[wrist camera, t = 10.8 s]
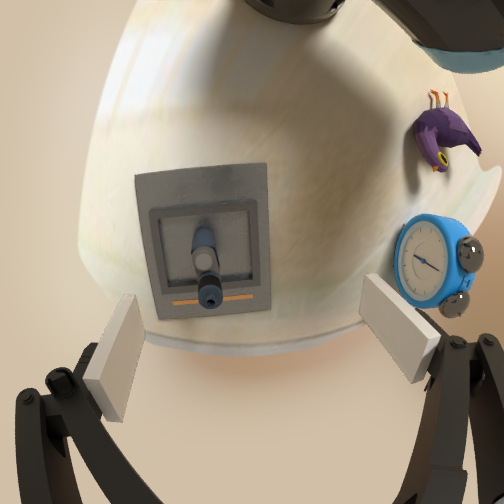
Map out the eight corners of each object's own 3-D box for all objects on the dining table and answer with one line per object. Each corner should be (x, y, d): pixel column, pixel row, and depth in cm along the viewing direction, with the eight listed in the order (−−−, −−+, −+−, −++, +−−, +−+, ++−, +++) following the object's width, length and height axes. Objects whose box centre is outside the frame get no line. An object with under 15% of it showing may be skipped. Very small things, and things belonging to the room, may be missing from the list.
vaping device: (200, 268, 37) (200, 317, 26) (191, 229, 35) (185, 265, 24) (220, 263, 37) (227, 312, 26) (211, 224, 35) (215, 259, 24)
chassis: (136, 174, 33) (132, 175, 31) (265, 162, 35) (268, 163, 33) (159, 316, 40) (157, 324, 38) (270, 306, 41) (272, 313, 39)
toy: (457, 148, 37) (484, 155, 31) (411, 168, 38) (439, 178, 32) (441, 86, 32) (469, 86, 26) (391, 100, 33) (420, 100, 27)
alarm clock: (402, 204, 39) (473, 232, 25) (430, 209, 40) (498, 237, 26) (384, 283, 43) (440, 333, 29) (411, 283, 44) (467, 328, 30)
